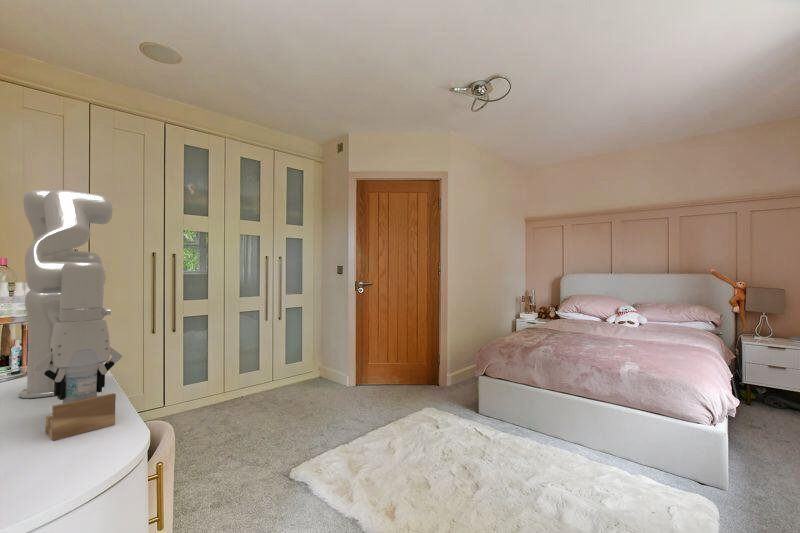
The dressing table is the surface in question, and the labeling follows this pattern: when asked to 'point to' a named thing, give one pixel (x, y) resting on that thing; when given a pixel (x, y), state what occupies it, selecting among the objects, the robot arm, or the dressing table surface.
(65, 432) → the wooden u-shaped piece
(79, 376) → the bottle
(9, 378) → the dressing table surface
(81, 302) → the robot arm
